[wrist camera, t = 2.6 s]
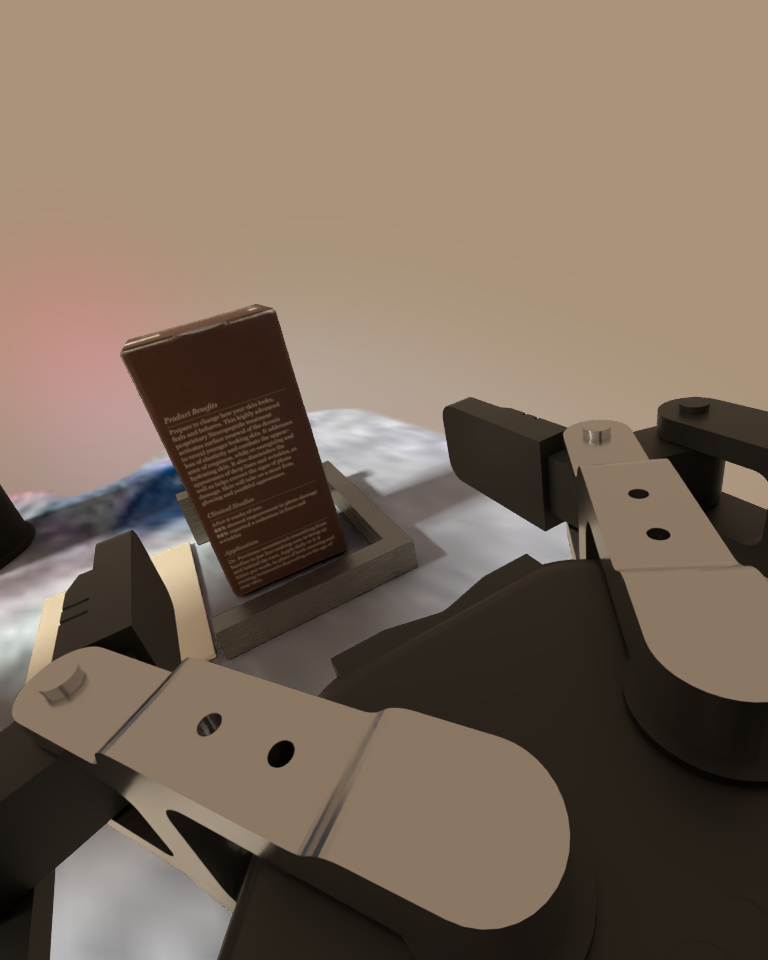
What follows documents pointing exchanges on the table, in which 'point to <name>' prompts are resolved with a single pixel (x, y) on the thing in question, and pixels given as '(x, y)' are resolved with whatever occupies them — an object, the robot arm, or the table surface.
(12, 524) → the aerosol can
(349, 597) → the open rectangular frame
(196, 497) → the box
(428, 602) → the table surface
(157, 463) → the table surface
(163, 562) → the pad
